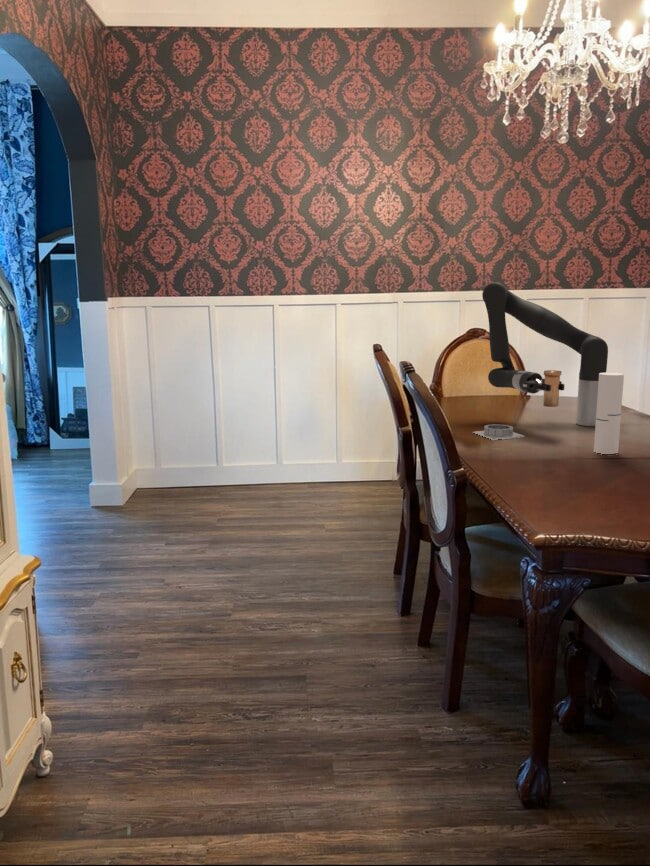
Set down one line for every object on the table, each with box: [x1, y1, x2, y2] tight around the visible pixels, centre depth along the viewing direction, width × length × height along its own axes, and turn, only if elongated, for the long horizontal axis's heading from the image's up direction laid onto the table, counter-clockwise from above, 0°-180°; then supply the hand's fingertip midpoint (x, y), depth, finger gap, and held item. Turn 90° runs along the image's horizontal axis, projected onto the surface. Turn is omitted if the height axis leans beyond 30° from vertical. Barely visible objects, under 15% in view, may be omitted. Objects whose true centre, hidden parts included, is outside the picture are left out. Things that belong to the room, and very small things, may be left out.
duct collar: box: [472, 423, 526, 441], centre depth 247 cm, size 13×13×3 cm
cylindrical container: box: [593, 372, 625, 455], centre depth 218 cm, size 7×7×25 cm
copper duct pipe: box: [543, 369, 562, 408], centre depth 240 cm, size 6×6×12 cm
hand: (556, 387), depth 238 cm, fingers closed on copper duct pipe, 5 cm apart
